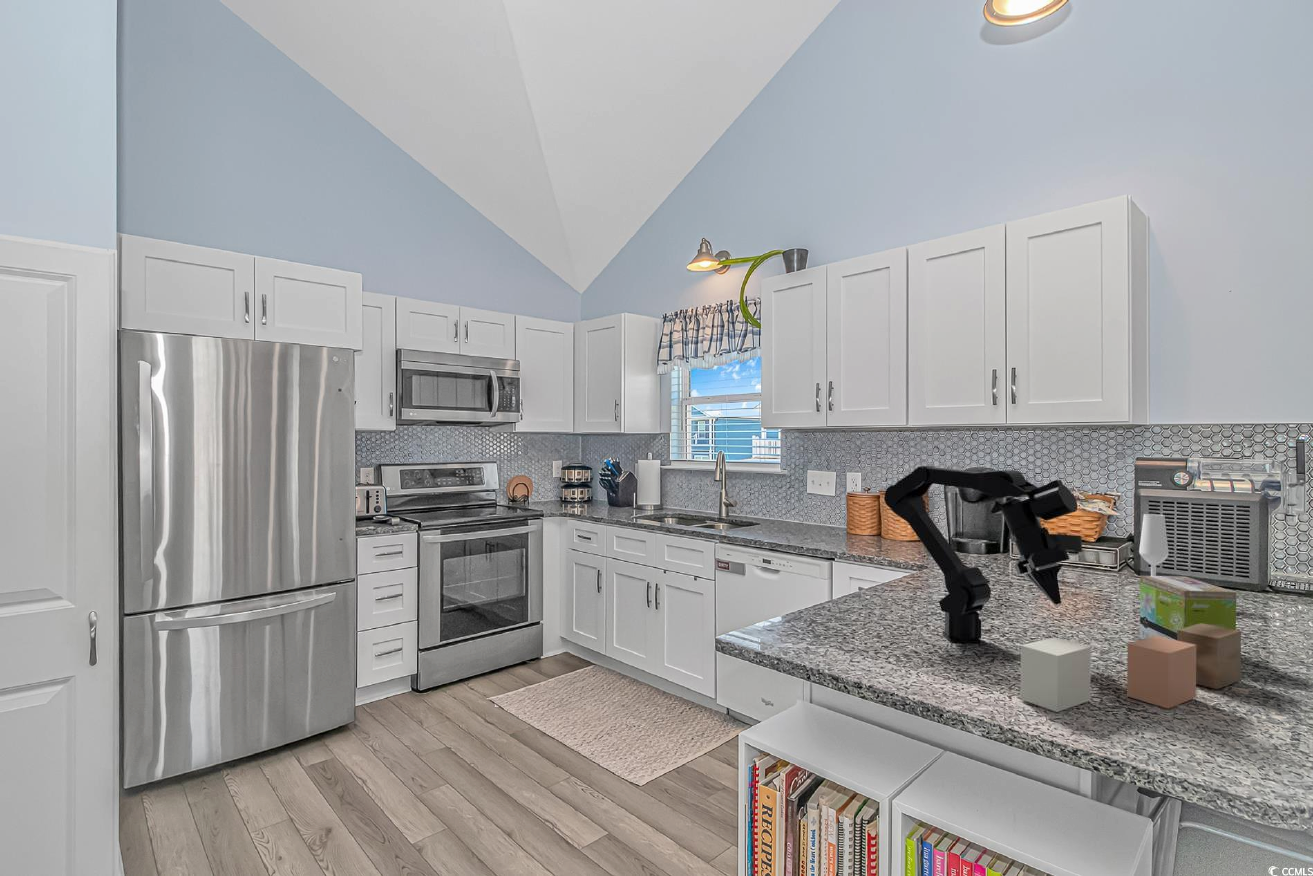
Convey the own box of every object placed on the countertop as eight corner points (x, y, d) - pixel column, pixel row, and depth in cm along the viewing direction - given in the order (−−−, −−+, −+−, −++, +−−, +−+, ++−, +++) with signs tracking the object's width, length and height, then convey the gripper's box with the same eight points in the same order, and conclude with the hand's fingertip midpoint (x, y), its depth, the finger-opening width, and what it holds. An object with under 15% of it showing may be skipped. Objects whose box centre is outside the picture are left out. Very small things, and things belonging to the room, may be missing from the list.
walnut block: (1176, 678, 121) (1177, 629, 121) (1200, 669, 126) (1201, 623, 126) (1217, 689, 116) (1217, 638, 116) (1240, 679, 121) (1241, 631, 121)
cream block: (1020, 699, 110) (1020, 645, 110) (1053, 688, 115) (1054, 637, 115) (1057, 712, 105) (1057, 655, 105) (1090, 700, 110) (1090, 646, 110)
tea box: (1137, 639, 147) (1138, 573, 147) (1185, 642, 146) (1186, 575, 146) (1184, 662, 132) (1185, 588, 132) (1238, 664, 131) (1239, 590, 131)
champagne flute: (1164, 597, 189) (1165, 514, 189) (1171, 602, 183) (1172, 516, 183) (1135, 595, 192) (1136, 513, 192) (1142, 600, 185) (1142, 515, 186)
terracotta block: (1127, 696, 112) (1127, 643, 112) (1155, 686, 117) (1155, 635, 117) (1168, 708, 107) (1168, 653, 107) (1195, 697, 112) (1196, 644, 112)
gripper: (1079, 509, 124) (1117, 591, 118) (1056, 523, 141) (1088, 596, 135) (1017, 525, 126) (1052, 606, 121) (1002, 538, 143) (1031, 609, 138)
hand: (1058, 604), depth 129 cm, fingers closed
